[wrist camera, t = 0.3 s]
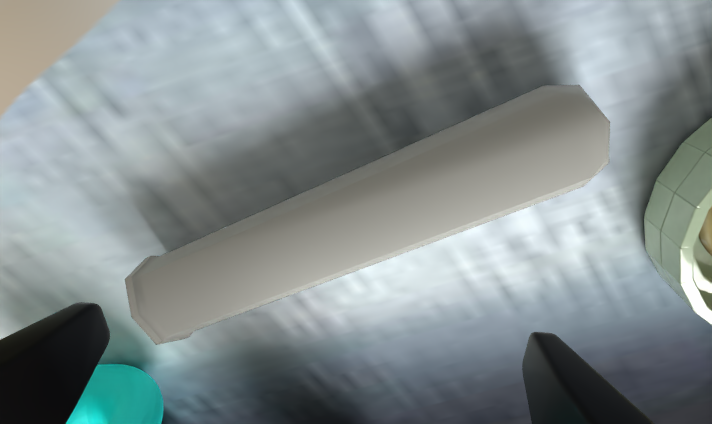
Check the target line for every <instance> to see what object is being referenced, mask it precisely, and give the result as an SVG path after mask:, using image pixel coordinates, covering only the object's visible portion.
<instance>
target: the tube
mask: <svg viewBox="0 0 712 424" xmlns="http://www.w3.org/2000/svg"><path fill="white" fill-rule="evenodd" d="M609 134H610V121H609V120H608V119H607V118H606V117H605V115H604V114H603V113H602V112H601V110H600V109H599V108H598V107H597V106H596V104H595V103H594V102H593V101H592V100H591V98H590V97H589V96H588V95H587V93H586V92H585V91H584V90H583V89H582V87H581V86H580V85H543V86H541V87H539V88H536V89H534V90H532V91H530V92H528V93H525V94H523V95H521V96H519V97H516V98H514V99H512V100H510V101H507V102H505V103H503V104H501V105H498V106H496V107H494V108H492V109H489V110H487V111H485V112H483V113H480V114H478V115H476V116H474V117H471V118H469V119H467V120H465V121H462V122H460V123H458V124H456V125H453V126H451V127H449V128H447V129H444V130H442V131H440V132H438V133H436V134H433V135H431V136H429V137H427V138H424V139H422V140H420V141H418V142H415V143H413V144H411V145H409V146H406V147H404V148H402V149H400V150H397V151H395V152H393V153H391V154H388V155H386V156H384V157H382V158H379V159H377V160H375V161H373V162H370V163H368V164H366V165H364V166H361V167H359V168H357V169H355V170H353V171H350V172H348V173H346V174H344V175H341V176H339V177H337V178H335V179H332V180H330V181H328V182H326V183H323V184H321V185H319V186H317V187H314V188H312V189H310V190H308V191H305V192H303V193H301V194H299V195H296V196H294V197H292V198H290V199H287V200H285V201H283V202H281V203H278V204H276V205H274V206H272V207H270V208H267V209H265V210H263V211H261V212H258V213H256V214H254V215H252V216H249V217H247V218H245V219H243V220H240V221H238V222H236V223H234V224H231V225H229V226H227V227H225V228H222V229H220V230H218V231H216V232H213V233H211V234H209V235H207V236H204V237H202V238H200V239H198V240H195V241H193V242H191V243H189V244H186V245H184V246H182V247H180V248H178V249H175V250H173V251H171V252H169V253H166V254H164V255H162V256H150V257H147V258H145V259H144V260H143V261H142V262H141V263H140V264H139V266H138V267H137V268H136V269H135V270H134V271H133V272H132V273H131V274H130V275H129V276H128V277H127V278H126V279H125V283H126V289H127V294H128V300H129V305H130V311H131V317H132V318H133V319H134V320H135V321H136V323H137V324H138V325H139V326H140V327H141V328H142V329H143V330H144V332H145V333H146V334H147V335H148V336H149V337H150V338H151V339H152V340H153V342H154V343H155V344H156V345H158V344H163V343H167V342H172V341H177V340H181V339H185V338H188V337H190V336H191V334H192V333H193V331H195V330H198V329H201V328H204V327H206V326H209V325H212V324H214V323H217V322H220V321H222V320H225V319H228V318H230V317H233V316H236V315H239V314H241V313H244V312H247V311H249V310H252V309H255V308H257V307H260V306H263V305H265V304H268V303H271V302H274V301H276V300H279V299H282V298H284V297H287V296H290V295H292V294H295V293H298V292H301V291H303V290H306V289H309V288H311V287H314V286H317V285H319V284H322V283H325V282H327V281H330V280H333V279H336V278H338V277H341V276H344V275H346V274H349V273H352V272H354V271H357V270H360V269H362V268H365V267H368V266H371V265H373V264H376V263H379V262H381V261H384V260H387V259H389V258H392V257H395V256H398V255H400V254H403V253H406V252H408V251H411V250H414V249H416V248H419V247H422V246H424V245H427V244H430V243H433V242H435V241H438V240H441V239H443V238H446V237H449V236H451V235H454V234H457V233H459V232H462V231H465V230H468V229H470V228H473V227H476V226H478V225H481V224H484V223H486V222H489V221H492V220H495V219H497V218H500V217H503V216H505V215H508V214H511V213H513V212H516V211H519V210H521V209H524V208H527V207H530V206H532V205H535V204H538V203H540V202H543V201H546V200H548V199H551V198H554V197H556V196H559V195H562V194H565V193H567V192H570V191H573V190H575V189H578V188H581V187H583V186H585V185H586V184H587V183H588V182H589V181H590V180H591V179H592V178H593V177H594V176H595V175H596V174H597V173H599V172H600V171H601V170H602V169H603V168H604V167H605V166H606V165H607V164H608V163H609Z"/></svg>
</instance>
